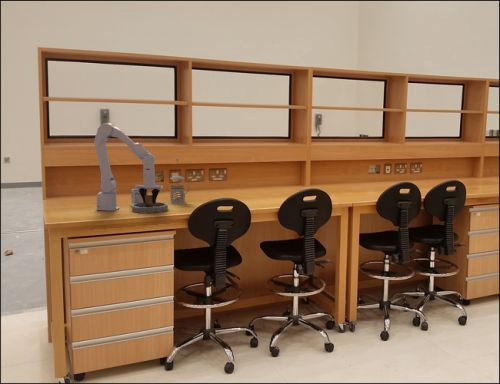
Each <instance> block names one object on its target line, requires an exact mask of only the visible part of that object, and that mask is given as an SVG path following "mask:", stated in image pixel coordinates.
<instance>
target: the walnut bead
mask: <svg viewBox="0 0 500 384" xmlns="http://www.w3.org/2000/svg"><path fill="white" fill-rule="evenodd" d="M145 207H154V204H153V197H152V193H150V194H148V193H147V195H145Z"/></svg>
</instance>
